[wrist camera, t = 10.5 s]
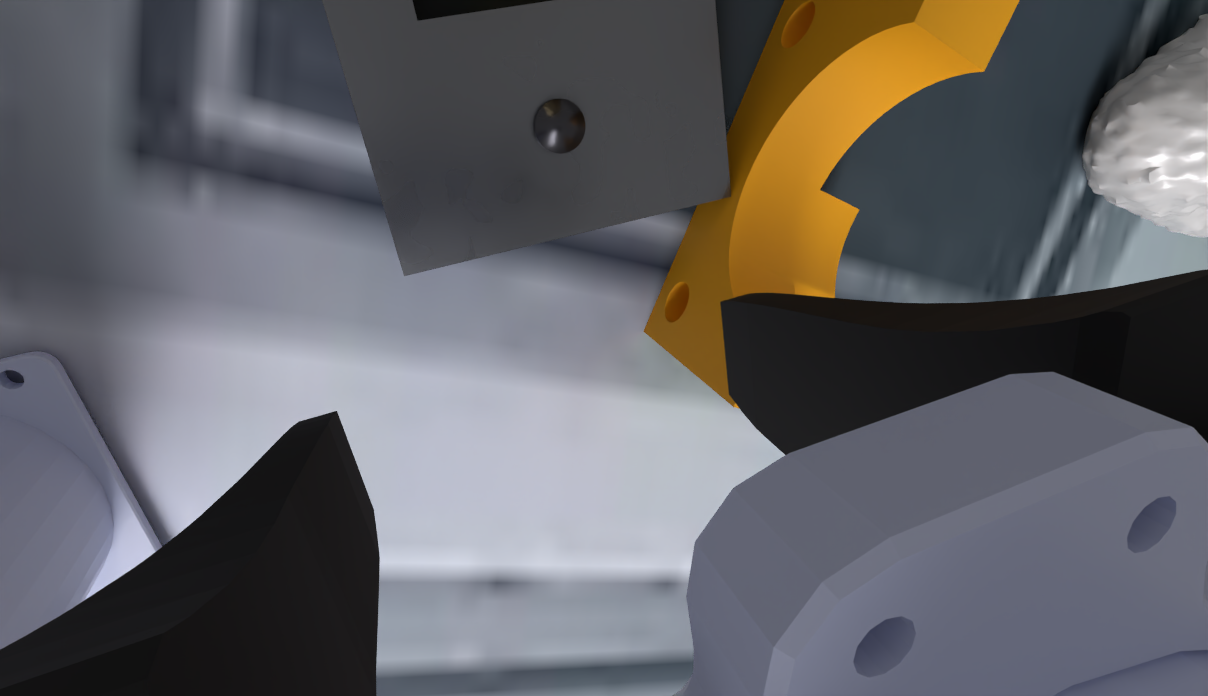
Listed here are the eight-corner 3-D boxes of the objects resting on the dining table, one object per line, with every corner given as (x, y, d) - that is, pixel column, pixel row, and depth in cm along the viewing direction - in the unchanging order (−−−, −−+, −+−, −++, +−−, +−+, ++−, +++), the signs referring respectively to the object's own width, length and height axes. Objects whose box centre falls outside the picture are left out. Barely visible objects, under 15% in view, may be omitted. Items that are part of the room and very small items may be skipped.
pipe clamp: (738, 361, 25) (850, 440, 19) (642, 330, 23) (733, 406, 17) (885, 44, 22) (1065, 25, 17) (790, -19, 20) (954, -65, 15)
